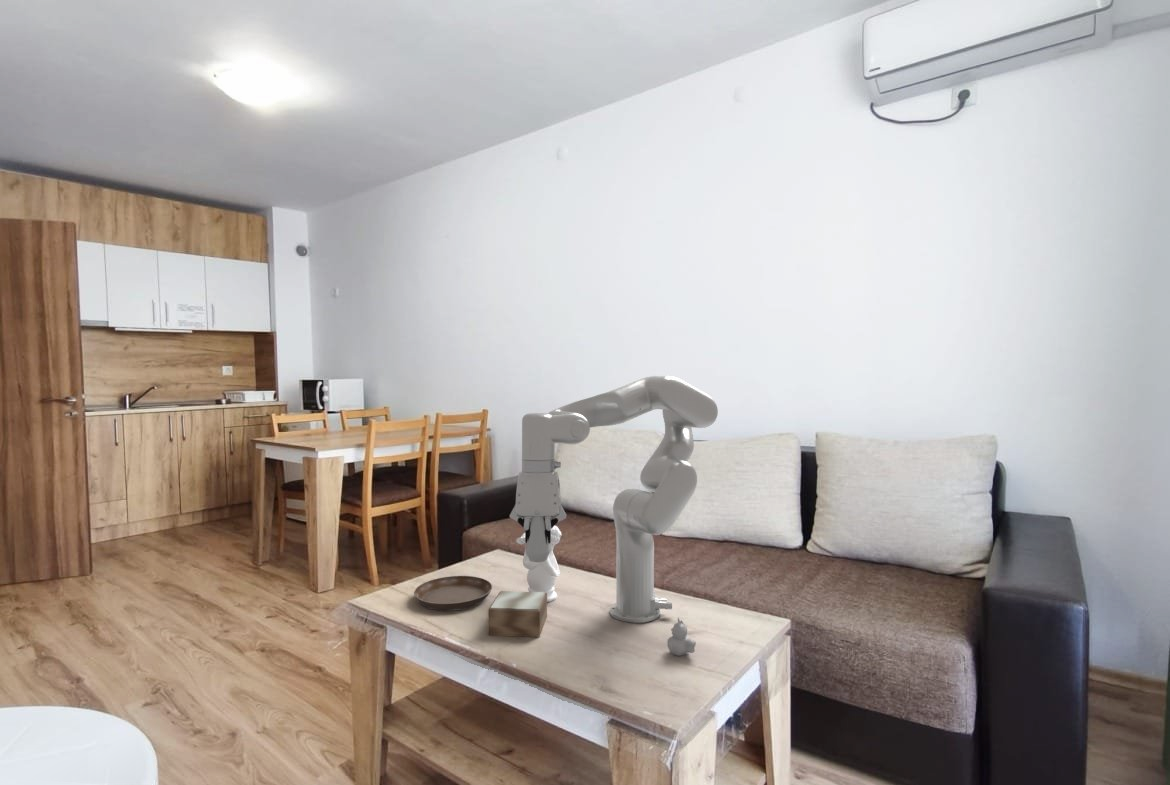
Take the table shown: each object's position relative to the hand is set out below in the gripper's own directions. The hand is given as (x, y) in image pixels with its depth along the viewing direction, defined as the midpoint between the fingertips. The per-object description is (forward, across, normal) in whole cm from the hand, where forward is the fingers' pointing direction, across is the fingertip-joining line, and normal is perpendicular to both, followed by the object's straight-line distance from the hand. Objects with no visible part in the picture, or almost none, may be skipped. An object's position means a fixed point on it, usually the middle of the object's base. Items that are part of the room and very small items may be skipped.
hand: (538, 545), depth 137 cm
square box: (+21, +5, -6) cm, 23 cm away
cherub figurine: (+21, +3, -24) cm, 32 cm away
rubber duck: (+21, -32, +8) cm, 39 cm away
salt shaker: (+3, 0, 0) cm, 3 cm away
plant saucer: (+22, +25, -23) cm, 41 cm away
